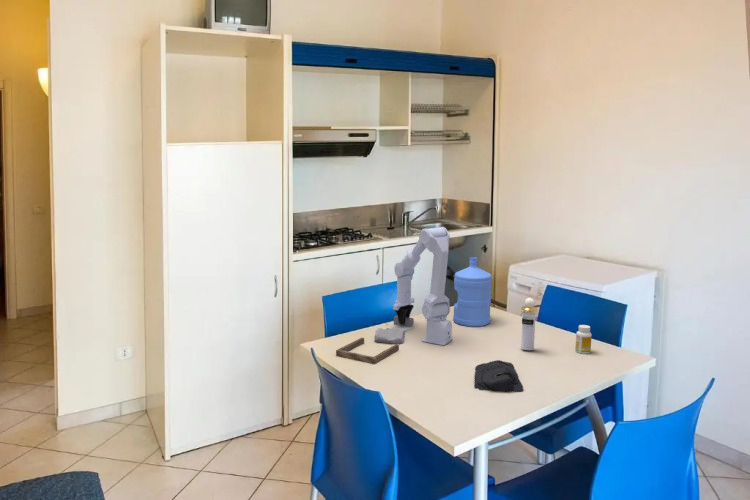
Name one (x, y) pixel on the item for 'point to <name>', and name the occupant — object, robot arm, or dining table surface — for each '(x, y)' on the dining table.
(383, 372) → the dining table surface
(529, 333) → the perfume bottle
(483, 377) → the crumpled black cloth
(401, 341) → the stone block
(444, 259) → the robot arm
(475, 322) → the water jug
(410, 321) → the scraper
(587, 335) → the supplement bottle
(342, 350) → the dock
